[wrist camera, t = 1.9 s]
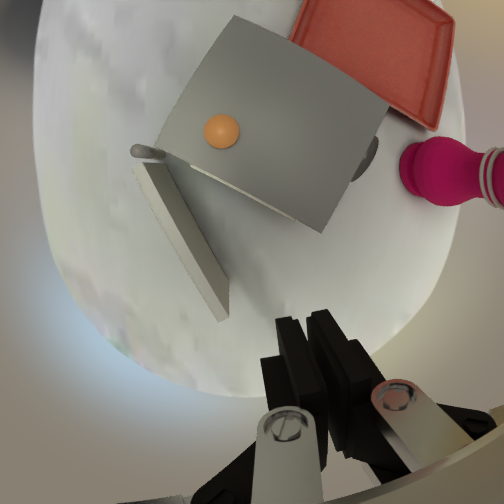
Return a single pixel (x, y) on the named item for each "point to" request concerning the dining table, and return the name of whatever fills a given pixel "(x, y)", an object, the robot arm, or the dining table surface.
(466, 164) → the pepper mill
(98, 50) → the dining table surface
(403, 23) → the plant saucer
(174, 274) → the dining table surface
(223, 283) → the side door
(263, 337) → the dining table surface
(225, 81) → the camera case
